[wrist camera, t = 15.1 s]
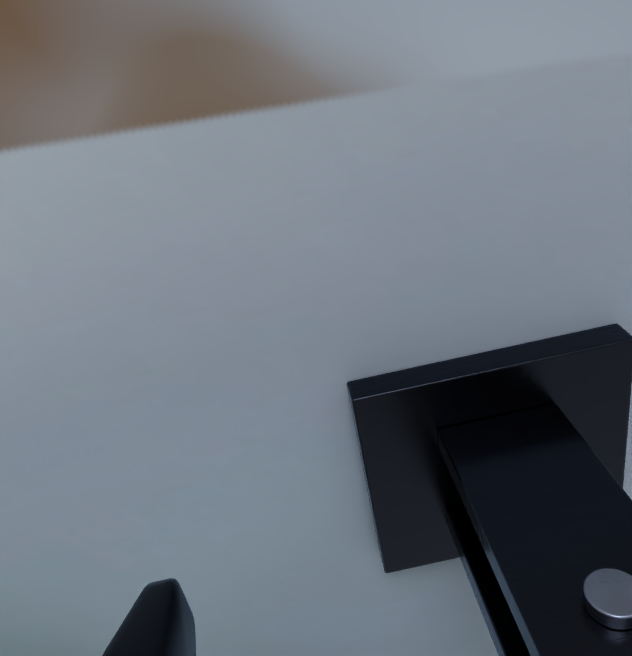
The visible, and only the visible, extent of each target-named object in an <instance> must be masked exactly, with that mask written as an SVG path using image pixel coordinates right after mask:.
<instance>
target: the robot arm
mask: <svg viewBox="0 0 632 656" xmlns="http://www.w3.org/2000/svg"><path fill="white" fill-rule="evenodd" d="M102 656H196V638H195V623H194V617H193V614H192V611H191V609H190V607H189V604H188V602H187V600H186V598H185V596H184V593H183V591H182V589H181V587H180V584H179V583H178V581H177V580H176V579H174V578H170V579H165V580H161V581H156V582H152V583H149V584H148V585H147V586H146V587H145V588H144V589H143V591H142V592H141V594H140V595H139V597H138V599H137V600H136V602H135V603H134V605H133V607H132V608H131V610H130V612H129V613H128V615H127V616H126V618H125V620H124V621H123V623H122V624H121V626H120V628H119V629H118V631H117V632H116V634H115V636H114V637H113V639H112V640H111V642H110V644H109V645H108V647H107V649H106V650H105V652H104V653H103V655H102Z"/></svg>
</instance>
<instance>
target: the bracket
mask: <svg viewBox="0 0 632 656" xmlns="http://www.w3.org/2000/svg"><path fill="white" fill-rule="evenodd" d="M631 383H632V336H631V335H630V334H629V333H628V332H627V331H625V330H624V329H623V328H622V327H621V326H620V325H618V324H612V325H607V326H602V327H598V328H593V329H589V330H584V331H579V332H575V333H570V334H566V335H561V336H556V337H552V338H547V339H543V340H538V341H533V342H529V343H524V344H520V345H515V346H510V347H506V348H501V349H497V350H492V351H487V352H483V353H478V354H474V355H469V356H465V357H460V358H455V359H451V360H446V361H442V362H437V363H432V364H428V365H423V366H419V367H414V368H409V369H405V370H400V371H396V372H391V373H386V374H382V375H377V376H373V377H368V378H363V379H359V380H354V381H350V382H348V383H347V387H348V392H349V398H350V403H351V408H352V413H353V418H354V423H355V428H356V433H357V439H358V444H359V449H360V454H361V459H362V464H363V469H364V474H365V480H366V485H367V490H368V495H369V500H370V505H371V510H372V515H373V521H374V526H375V531H376V536H377V541H378V546H379V551H380V555H381V559H382V563H383V567H384V571H385V573H390V572H395V571H399V570H404V569H408V568H413V567H417V566H422V565H427V564H431V563H436V562H440V561H445V560H449V559H454V558H458V557H460V558H461V561H462V563H463V566H464V568H465V571H466V574H467V576H468V579H469V581H470V584H471V586H472V589H473V591H474V594H475V596H476V599H477V601H478V604H479V607H480V609H481V612H482V614H483V617H484V619H485V622H486V624H487V627H488V629H489V632H490V635H491V637H492V640H493V642H494V645H495V647H496V650H497V652H498V655H499V656H632V500H631V499H630V497H629V496H628V495H627V493H626V492H625V491H624V490H623V480H624V468H625V456H626V444H627V432H628V420H629V408H630V395H631Z"/></svg>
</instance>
